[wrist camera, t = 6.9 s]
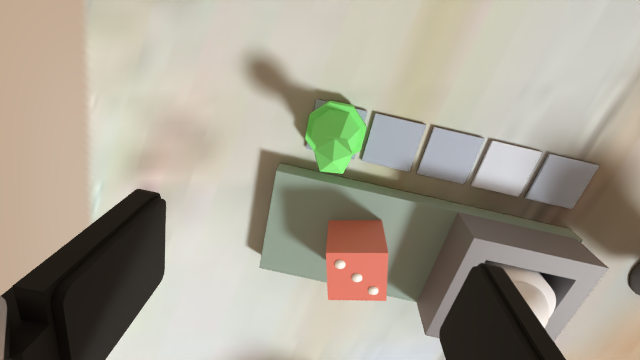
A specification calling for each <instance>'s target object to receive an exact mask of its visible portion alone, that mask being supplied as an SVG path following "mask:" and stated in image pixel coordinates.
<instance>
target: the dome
mask: <svg viewBox="0 0 640 360" xmlns="http://www.w3.org/2000/svg"><path fill="white" fill-rule="evenodd" d="M485 263H486V264H490V265H495V266H499V267H502V268H503V269H504V270H505V272H506V273H507V274H508V276H509V277H510V279H511V280H512V282H513V283H514V285H515V286H516V288H517V289H518V291H519V292H520V293H521V295H522V296H523V298H524V299H525V301H526V302H527V304H528V305H529V307H530V308H531V309H532V311H533V312H534V314H535V315H536V317H537V318H538V320H539V321H540V323H541V324H542V326H543V327H544V328H545V327H546V325H547V322H548V319H549V318H550V316H551V315H552V313H553V312H554V309H555V306H556V296H555V293H554V291H553V290H552V288H551V287H550V286H549V284H548V283H547V282H546V281H545V279H544V278H543V277H542V276H541V274H540V273H539V272H538V271H533V270H529V269H524V268H520V267H516V266H511V265H507V264H502V263H498V262H493V261H489V260H486V261H485Z"/></svg>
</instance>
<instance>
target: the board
mask: <svg viewBox="0 0 640 360" xmlns="http://www.w3.org/2000/svg"><path fill="white" fill-rule="evenodd" d="M329 220H382V223H383V228H384V233H385V238H386V243H387V249H388V272H387V294H386V296H391V297H396V298H400V299H405V300H409V301H414V302H417V305H418V309H419V313H420V317H421V321H422V324H423V328H424V332H425V335H427V336H432V337H436V338H439V332H440V328H441V326H442V324H443V322H444V320H445V318H446V316H447V314H448V312H449V310H450V308H451V306H452V305H453V303H454V301H455V299H456V297H457V295H458V293H459V291H460V289H461V287H462V285H463V283H464V281H465V280H466V278H467V276H468V274H469V272H470V270H471V268H472V267H474V266H477V265H479V264H480V263H485V261H486V260H489V261H493V262H498V263H502V264H507V265H511V266H516V267H520V268H524V269H529V270H533V271H538V272H539V273H540V274H541V276H542V277H543V278H544V279H545V281H546V282H547V283H548V284H549V286H550V287H551V288H552V290H553V291H554V293H555V296H556V306H555V309H554V312H553V313H552V315H551V316H550V318H549V319H548V322H547V325H546V327H545V330H546V331H547V333H548V334H549V336H550V337H551V339H552V340H553V342H554V341H555V339H556V338H557V337H558V335H559V334H560V333H561V331H562V330H563V329H564V327H565V326H566V325H567V323H568V322H569V321H570V319H571V318H572V317H573V315H574V314H575V313H576V311H577V310H578V309H579V307H580V306H581V305H582V303H583V302H584V301H585V299H586V298H587V297H588V295H589V294H590V293H591V291H592V290H593V289H594V287H595V286H596V285H597V283H598V282H599V281H600V279H601V278H602V277H603V275H604V274H605V273H606V271H607V270H608V269H609V268H608V267H607V266H606V265H605V264H604V263H603V262H601V261H600V260H599V259H598V258H597V257H596V256H595V255H594V254H593V253H591V252H590V251H589V250H588V249H587V248H586V247H585V246H584V245H583V244H581V242H582V239H581V238H580V237H579V236H577V235H576V234H575V233H574V232H573V231H572V230H571V229H568V228H564V227H559V226H555V225H550V224H546V223H542V222H537V221H533V220H528V219H524V218H520V217H515V216H511V215H506V214H502V213H498V212H493V211H489V210H484V209H480V208H476V207H471V206H467V205H462V204H458V203H454V202H449V201H445V200H440V199H436V198H432V197H427V196H423V195H418V194H414V193H410V192H405V191H401V190H396V189H392V188H388V187H383V186H379V185H374V184H370V183H366V182H361V181H357V180H352V179H348V178H344V177H339V176H335V175H330V174H326V173H322V172H317V171H313V170H308V169H304V168H300V167H295V166H291V165H286V164H282V163H280V164H279V166H278V168H277V170H276V175H275V181H274V187H273V192H272V198H271V204H270V210H269V215H268V221H267V227H266V233H265V238H264V244H263V250H262V255H261V261H260V267H259V268H263V269H267V270H272V271H276V272H281V273H286V274H290V275H295V276H299V277H304V278H309V279H313V280H318V281H322V282H327V266H326V245H327V233H328V222H329Z"/></svg>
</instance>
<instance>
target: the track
mask: <svg viewBox="0 0 640 360" xmlns="http://www.w3.org/2000/svg"><path fill="white" fill-rule="evenodd" d="M325 103H327V102H326V101H322V100H318V99H316V103H315V108H314V111H315V110H316V109H318V108H319V107H321V106H322V105H324V104H325ZM355 109H356V108H355ZM356 110H357V112H358V113H359V115H360V116H361V118H362V119H363V121H365V118H366V114H367V111H365V110H361V109H356ZM425 127H426V125H425V124H421V123H416V122H412V121H408V120H404V119H399V118H395V117H391V116H386V115H382V114H378V113H375V116H374V119H373V123H372V126H371V130H370V133H369V137H368V140H367V143H366V147H365V150H364V154H363V157H362V161H364V162H368V163H373V164H377V165H382V166H386V167H390V168H395V169H399V170H403V171H408V172H409V171H410V168H411V166H412V163H413V160H414V157H415V155H416V152H417V149H418V146H419V144H420V141H421V138H422V135H423V133H424V130H425ZM483 141H484V138H481V137H476V136H472V135H468V134H464V133H459V132H455V131H451V130H446V129H442V128H438V127H433V130H432V133H431V135H430V138H429V141H428V143H427V146H426V149H425V151H424V154H423V157H422V159H421V162H420V165H419V167H418V170H417V174H421V175H425V176H430V177H434V178H438V179H443V180H447V181H451V182H456V183H460V184H464V183H465V181H466V179H467V177H468V175H469V172H470V170H471V168H472V166H473V163H474V161H475V159H476V157H477V155H478V152H479V150H480V148H481V146H482V143H483ZM306 148H307V149H312V148H311V147H310V145H309V144H308V142H307V146H306ZM312 150H313V149H312ZM541 154H542V152H541V151H536V150H532V149H528V148H524V147H519V146H515V145H511V144H506V143H502V142H498V141H494V140H491V143H490V145H489V147H488V149H487V151H486V153H485V156H484V158H483V160H482V162H481V164H480V166H479V169H478V171H477V173H476V175H475V177H474V179H473V182H472V184H471V186H473V187H478V188H482V189H486V190H491V191H495V192H499V193H504V194H508V195H513V196H517V197H519V195H520V193H521V191H522V189H523V187H524V186H525V184H526V182H527V180H528V178H529V176H530V174H531V173H532V171H533V169H534V167H535V165H536V163H537V161H538V160H539V158H540V156H541ZM354 157H355V154H354V155H352V157H351V159H354ZM598 167H599V165H596V164H592V163H588V162H584V161H579V160H575V159H571V158H566V157H562V156H558V155H554V154H548V156H547V158H546V160H545V161H544V163H543V165H542V167H541V169H540V171H539V172H538V174H537V176H536V178H535V180H534V181H533V183H532V185H531V187H530V189H529V191H528V192H527V194H526V196H525V198H526V199H530V200H534V201H539V202H543V203H547V204H552V205H556V206H561V207H565V208H569V209H573V207H574V206H575V204H576V202H577V201H578V199H579V198H580V196H581V194H582V193H583V191H584V190H585V188H586V187H587V185H588V183H589V182H590V180H591V179H592V177H593V175H594V174H595V172H596V171H597V169H598Z"/></svg>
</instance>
